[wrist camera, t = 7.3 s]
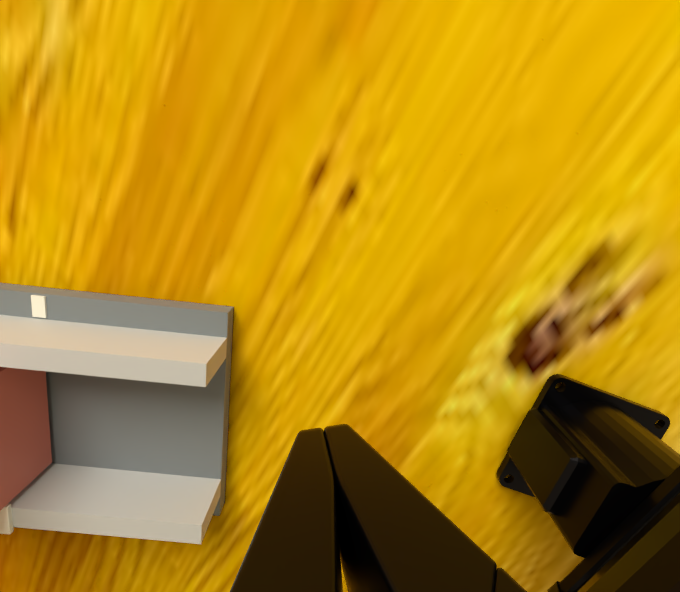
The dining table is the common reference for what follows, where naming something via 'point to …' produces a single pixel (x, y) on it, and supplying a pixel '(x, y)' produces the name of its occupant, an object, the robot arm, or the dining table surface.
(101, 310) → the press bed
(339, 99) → the dining table surface
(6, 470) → the plug
